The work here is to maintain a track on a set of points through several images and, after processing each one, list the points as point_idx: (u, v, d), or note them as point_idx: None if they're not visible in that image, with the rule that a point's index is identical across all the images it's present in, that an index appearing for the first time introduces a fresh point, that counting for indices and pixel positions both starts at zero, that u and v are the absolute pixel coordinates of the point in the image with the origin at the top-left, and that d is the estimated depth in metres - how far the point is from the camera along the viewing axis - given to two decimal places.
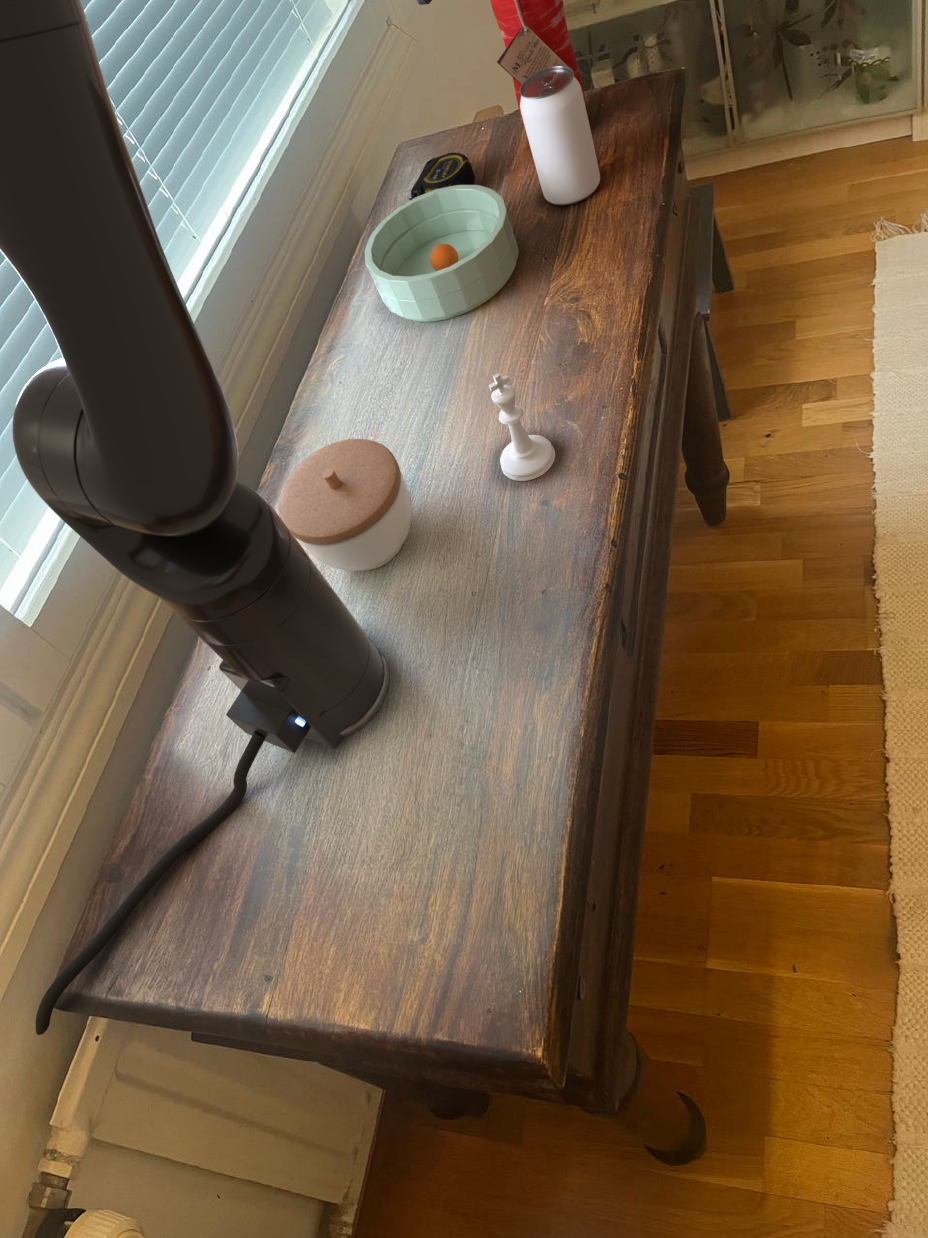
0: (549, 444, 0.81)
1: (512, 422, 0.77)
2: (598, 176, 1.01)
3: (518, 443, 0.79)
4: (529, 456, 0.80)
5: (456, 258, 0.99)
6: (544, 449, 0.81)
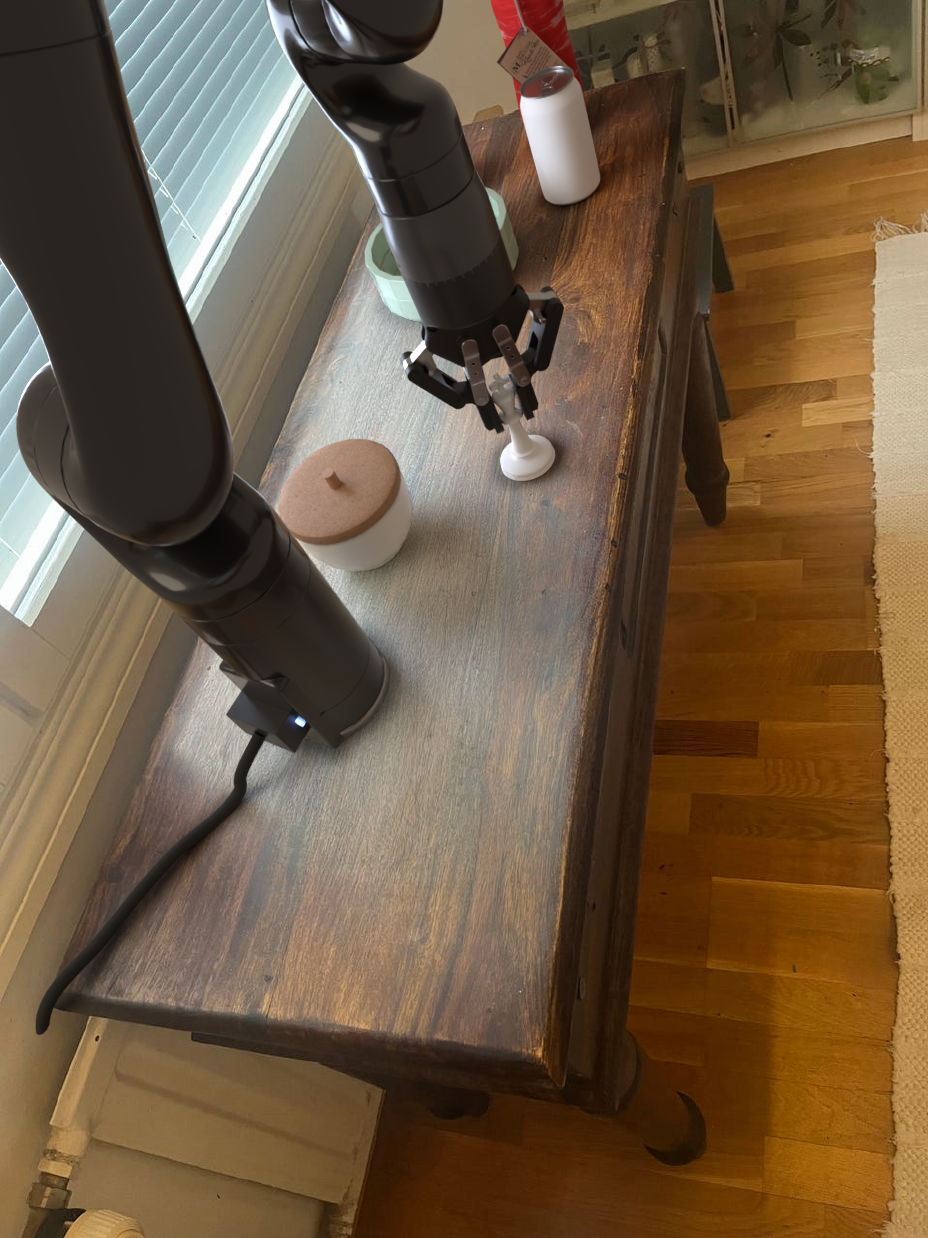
0: (549, 444, 0.81)
1: (512, 422, 0.77)
2: (598, 176, 1.01)
3: (518, 443, 0.79)
4: (529, 456, 0.80)
5: None
6: (544, 449, 0.81)
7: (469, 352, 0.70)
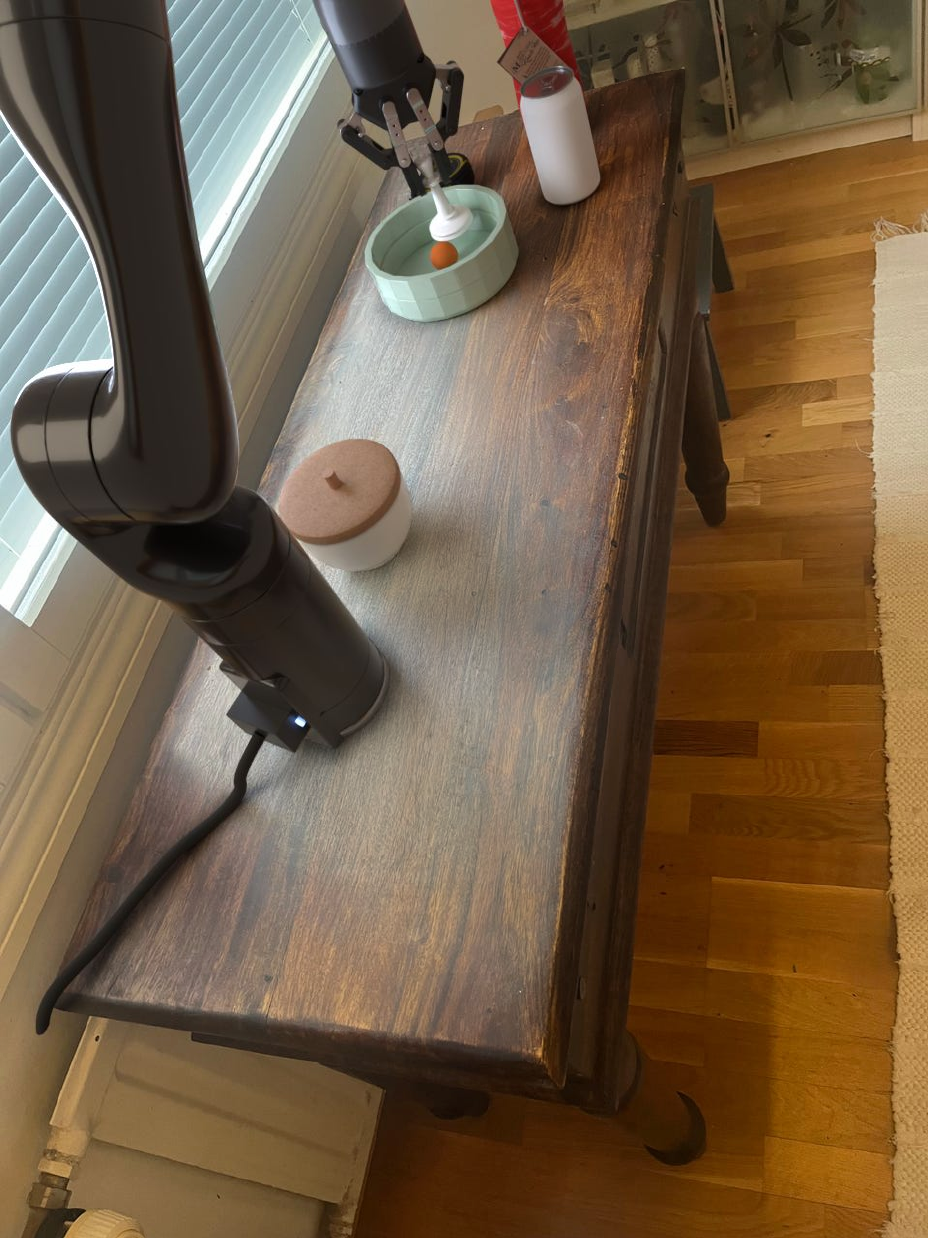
0: (468, 209, 0.99)
1: (432, 185, 0.95)
2: (598, 176, 1.01)
3: (440, 207, 0.98)
4: (451, 219, 0.99)
5: (455, 254, 0.99)
6: (463, 213, 0.99)
7: (389, 113, 0.88)
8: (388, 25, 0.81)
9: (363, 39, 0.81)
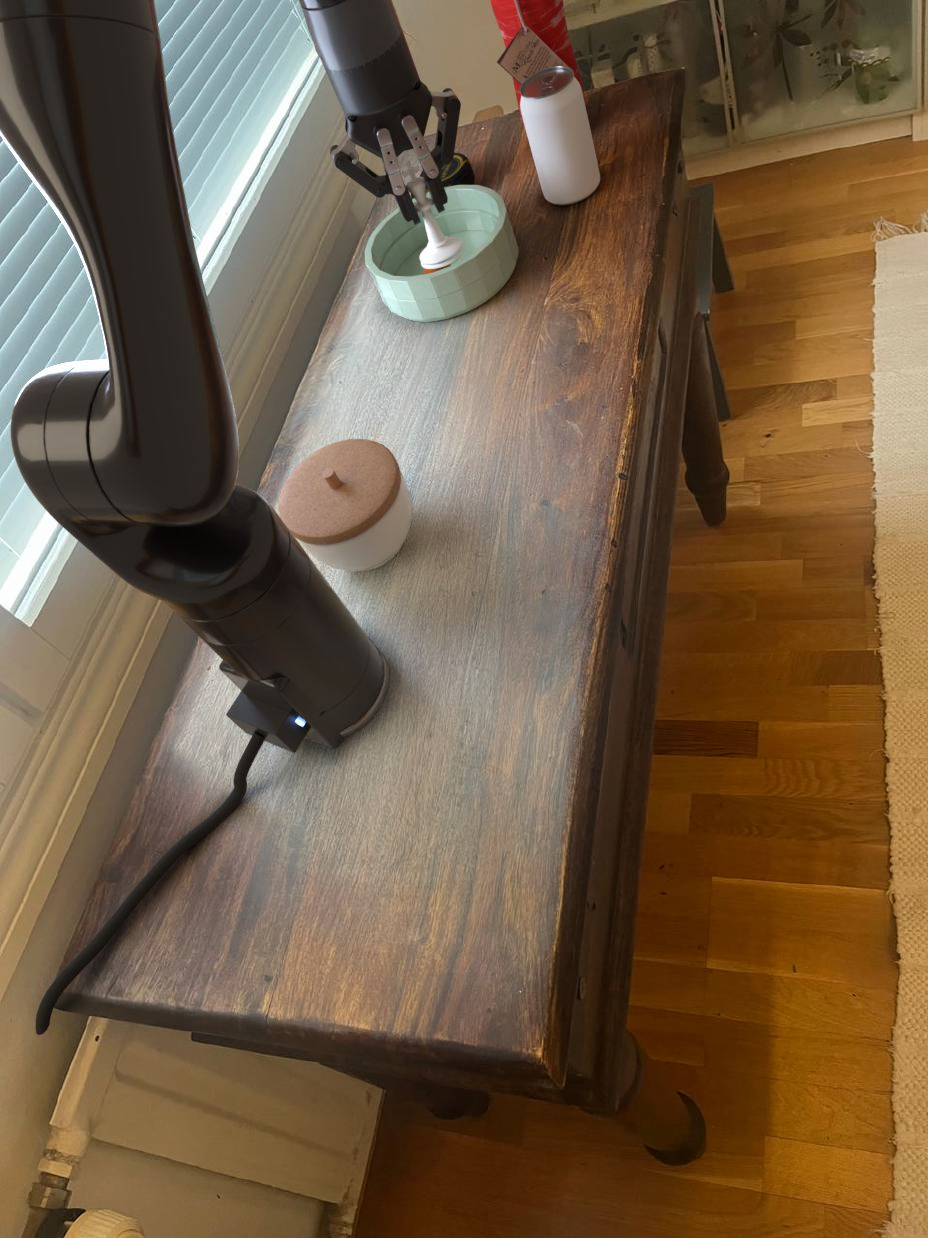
0: (460, 241, 0.96)
1: (422, 209, 0.93)
2: (598, 176, 1.01)
3: (431, 234, 0.95)
4: (440, 248, 0.96)
5: None
6: (454, 244, 0.96)
7: (384, 140, 0.86)
8: (385, 51, 0.79)
9: (359, 65, 0.79)
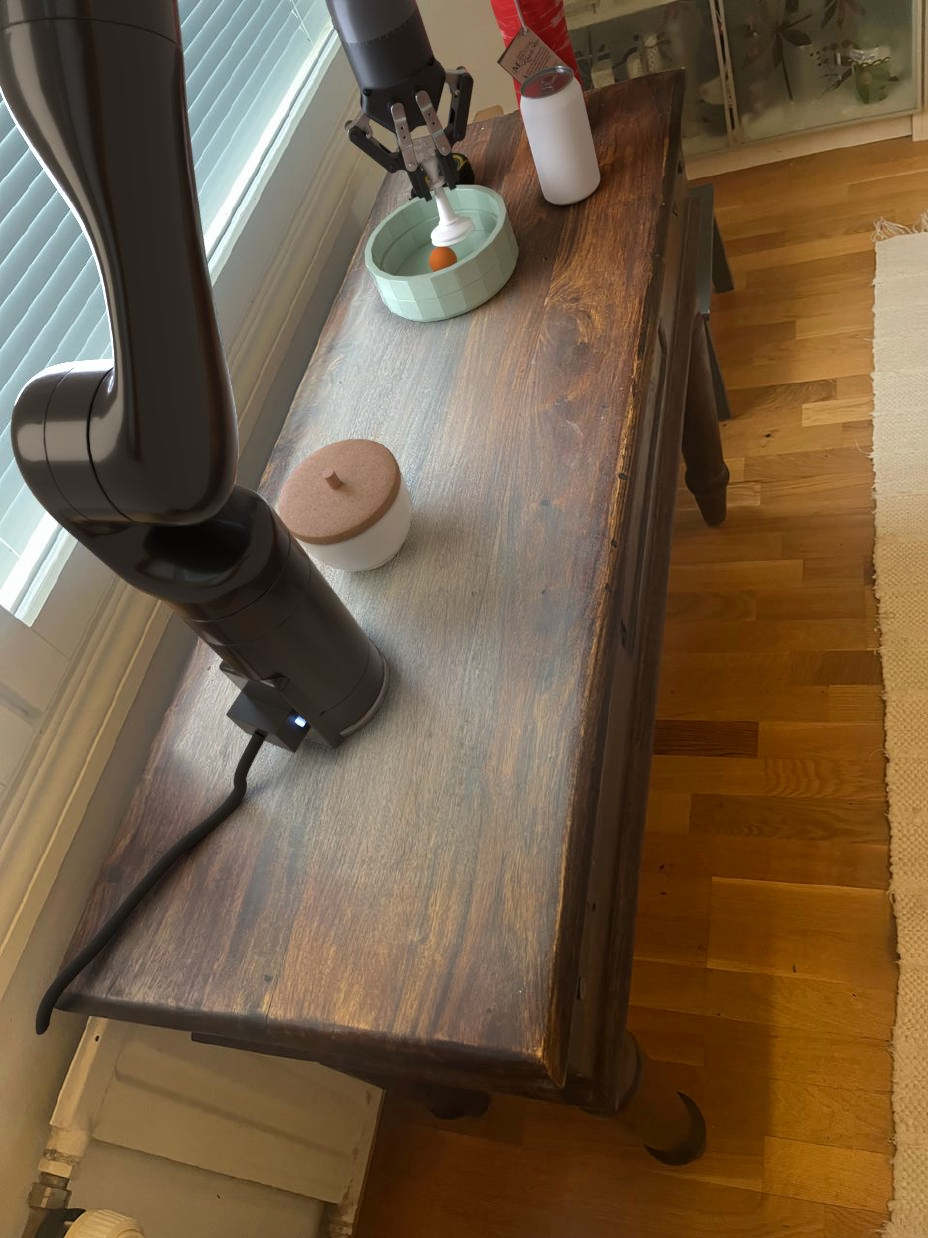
0: (471, 220, 0.98)
1: (435, 186, 0.95)
2: (598, 176, 1.01)
3: (442, 211, 0.97)
4: (452, 225, 0.97)
5: (436, 262, 0.98)
6: (465, 222, 0.98)
7: (397, 115, 0.87)
8: (400, 25, 0.80)
9: (374, 37, 0.81)
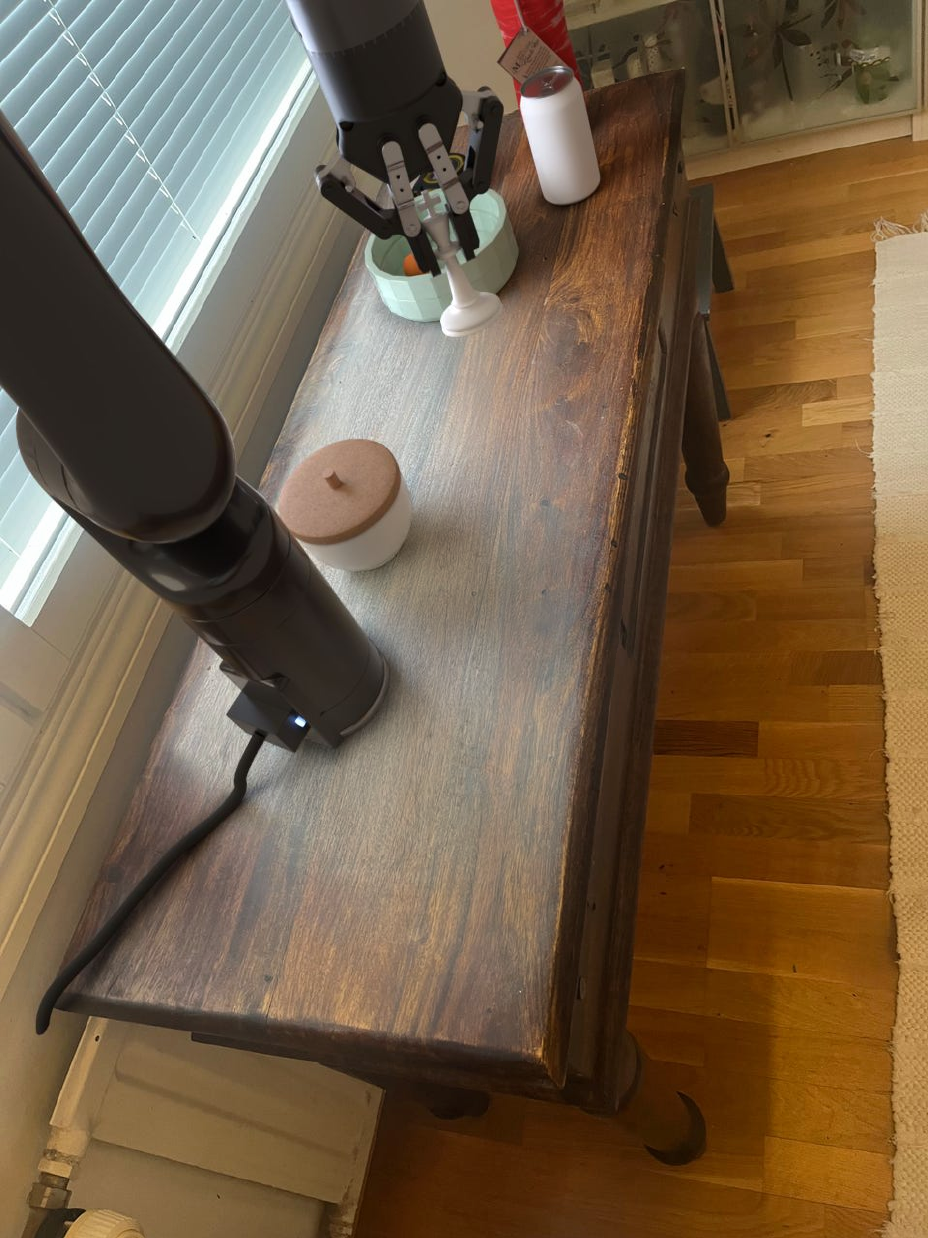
0: (496, 299, 0.70)
1: (445, 256, 0.66)
2: (598, 176, 1.01)
3: (456, 289, 0.68)
4: (470, 308, 0.69)
5: None
6: (488, 302, 0.69)
7: (392, 159, 0.59)
8: (395, 25, 0.52)
9: (356, 45, 0.52)
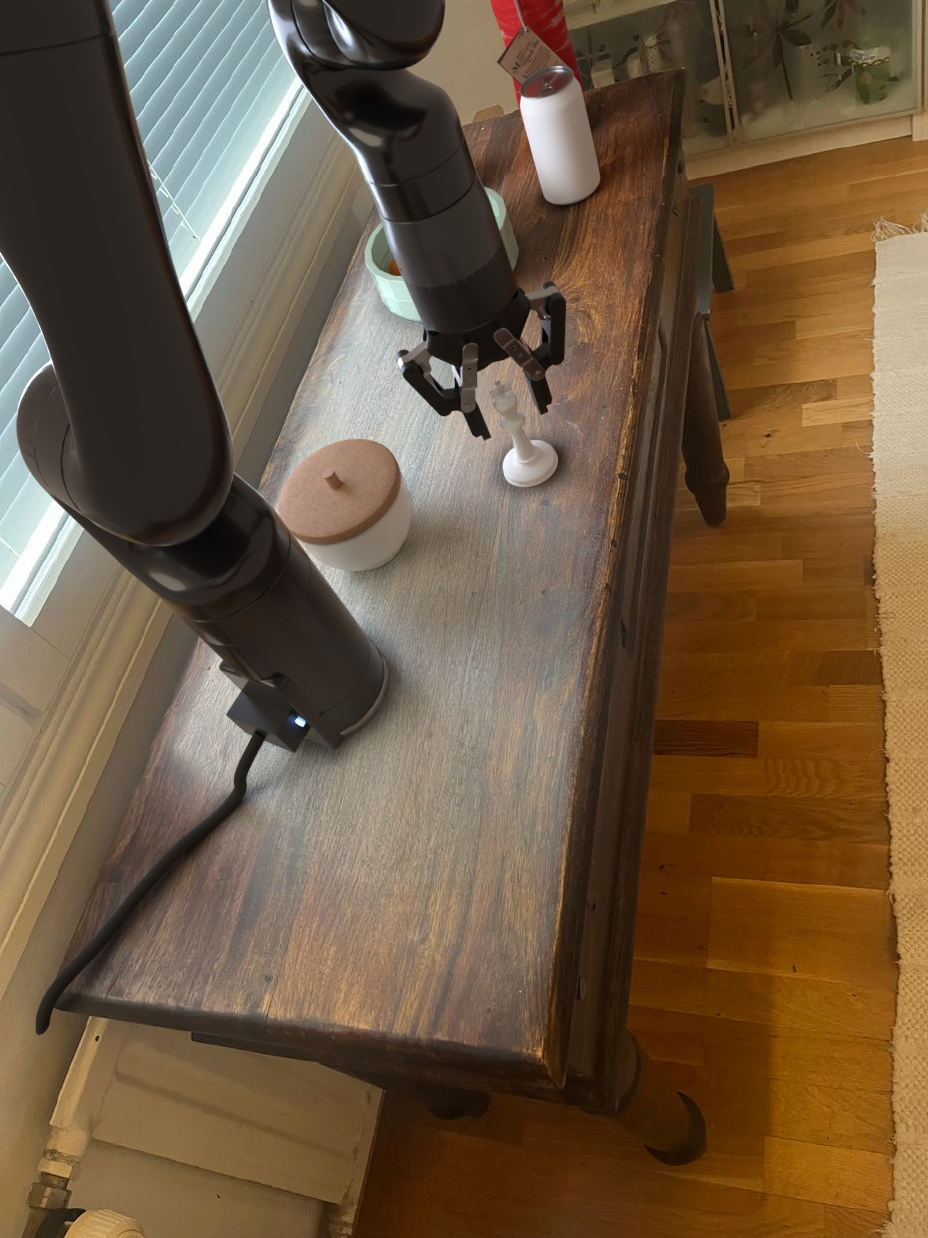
0: (552, 452, 0.80)
1: (513, 429, 0.77)
2: (598, 176, 1.01)
3: (520, 450, 0.79)
4: (530, 463, 0.80)
5: None
6: (546, 457, 0.80)
7: (469, 355, 0.70)
8: (481, 267, 0.63)
9: (449, 283, 0.63)
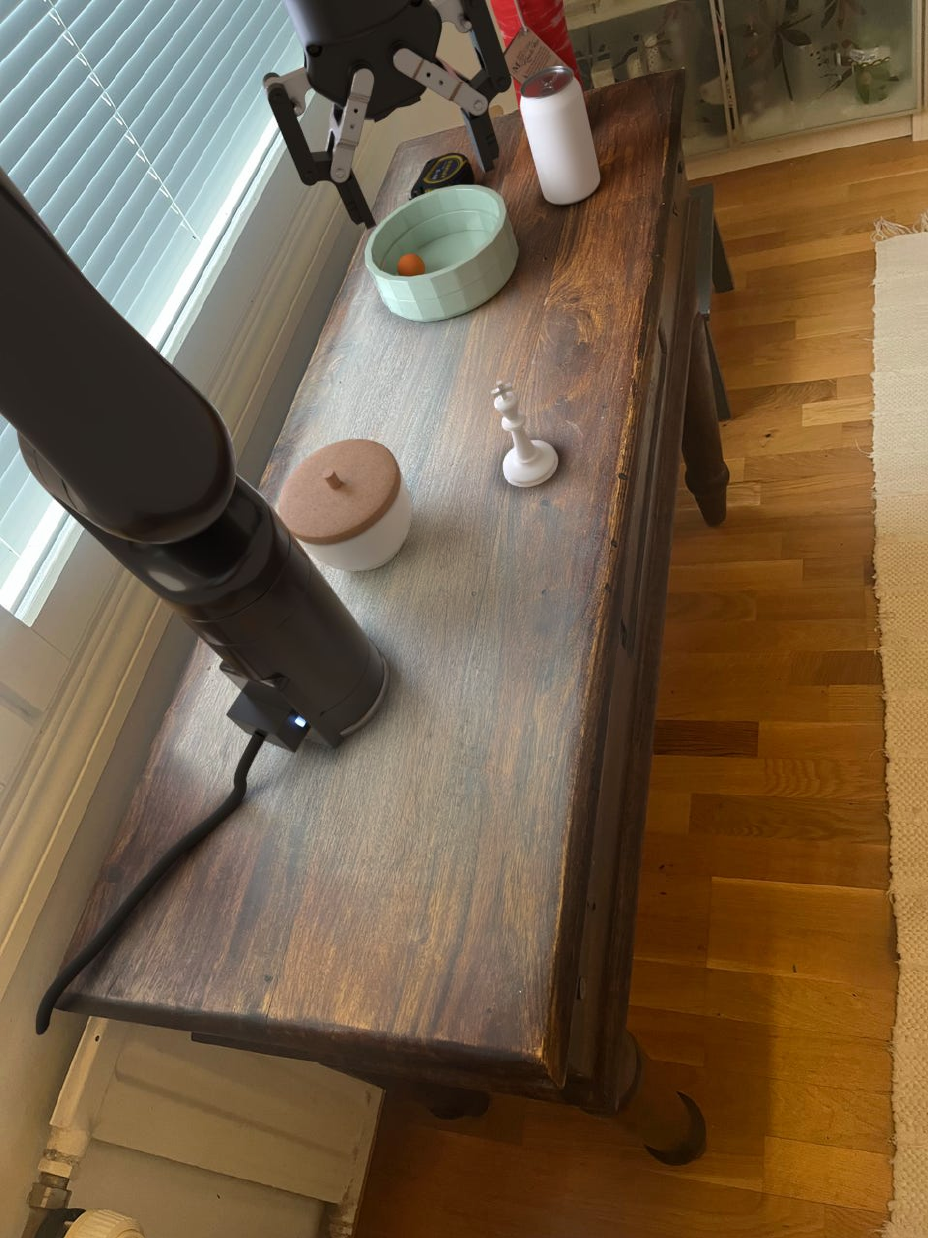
0: (553, 452, 0.80)
1: (513, 429, 0.77)
2: (598, 176, 1.01)
3: (520, 449, 0.79)
4: (530, 463, 0.80)
5: None
6: (546, 457, 0.80)
7: (360, 88, 0.54)
8: None
9: None
